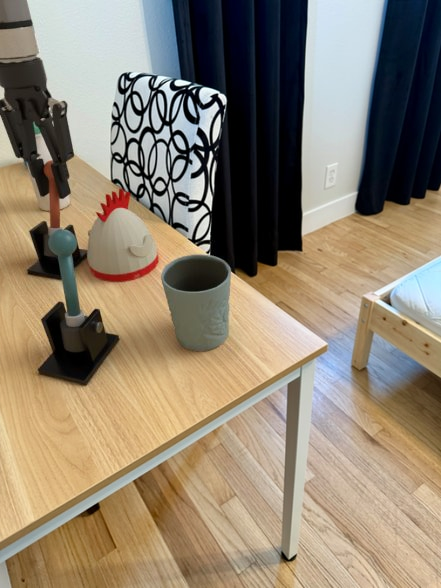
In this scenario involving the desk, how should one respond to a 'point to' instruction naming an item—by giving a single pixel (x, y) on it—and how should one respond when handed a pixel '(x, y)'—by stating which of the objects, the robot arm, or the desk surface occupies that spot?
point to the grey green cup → (198, 300)
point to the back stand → (46, 263)
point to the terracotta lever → (52, 209)
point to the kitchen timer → (120, 242)
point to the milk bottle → (45, 155)
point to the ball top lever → (68, 289)
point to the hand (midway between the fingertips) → (55, 194)
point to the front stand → (76, 363)
